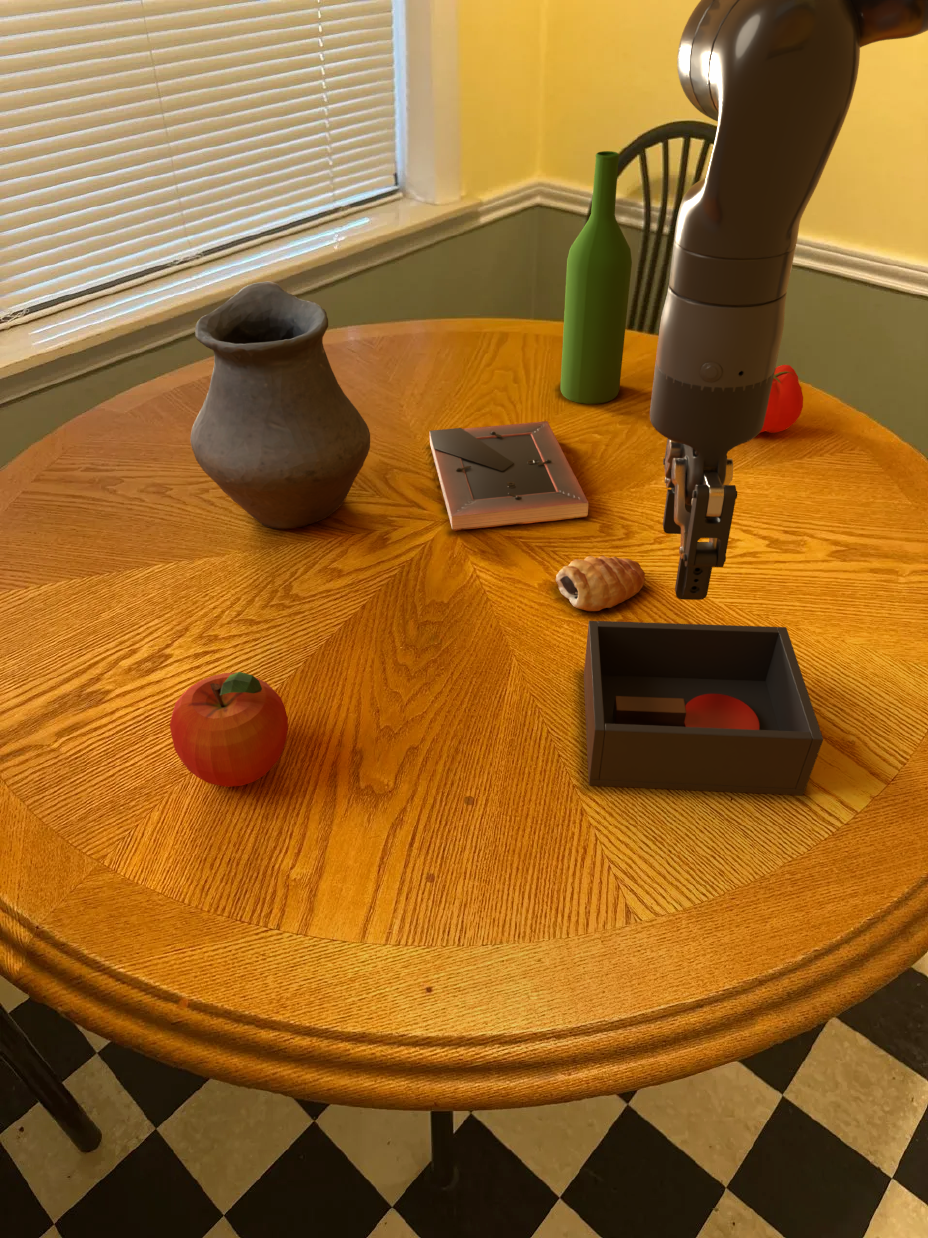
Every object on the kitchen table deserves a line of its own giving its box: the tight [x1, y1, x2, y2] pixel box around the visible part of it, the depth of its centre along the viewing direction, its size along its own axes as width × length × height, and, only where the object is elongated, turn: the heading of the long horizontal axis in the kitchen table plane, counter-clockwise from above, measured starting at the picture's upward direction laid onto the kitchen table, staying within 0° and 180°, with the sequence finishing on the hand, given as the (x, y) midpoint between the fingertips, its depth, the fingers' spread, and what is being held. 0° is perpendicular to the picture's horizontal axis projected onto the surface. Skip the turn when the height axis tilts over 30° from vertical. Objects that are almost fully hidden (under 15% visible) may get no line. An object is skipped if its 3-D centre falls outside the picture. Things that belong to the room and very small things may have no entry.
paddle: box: [613, 694, 760, 730], centre depth 76 cm, size 13×7×2 cm, turn 86°
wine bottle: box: [559, 150, 633, 405], centre depth 121 cm, size 9×9×32 cm
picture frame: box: [429, 420, 590, 531], centre depth 110 cm, size 16×2×22 cm
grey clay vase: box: [189, 281, 371, 530], centre depth 100 cm, size 21×22×25 cm
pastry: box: [555, 555, 646, 612], centre depth 92 cm, size 9×7×4 cm
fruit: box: [169, 671, 289, 788], centre depth 72 cm, size 10×10×10 cm
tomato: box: [759, 364, 804, 434], centre depth 118 cm, size 11×11×9 cm
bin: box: [583, 620, 824, 796], centre depth 75 cm, size 18×14×7 cm
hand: (682, 562), depth 66 cm, fingers open, 8 cm apart
